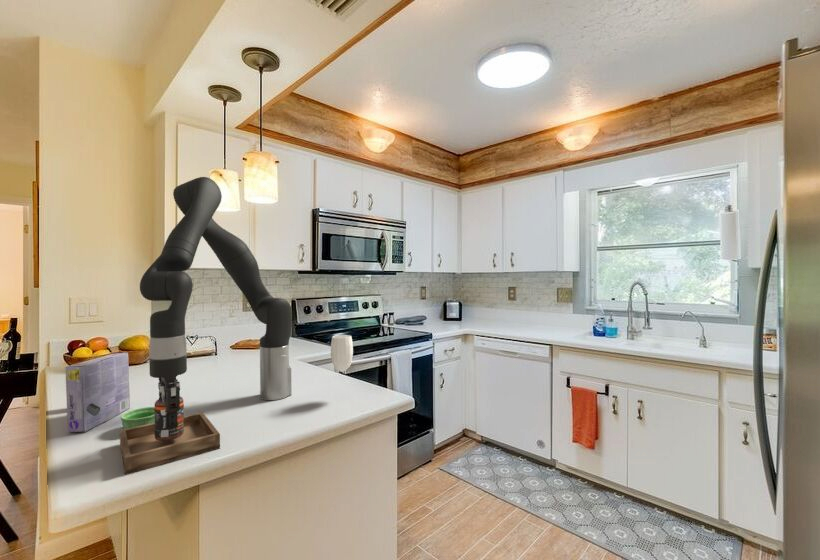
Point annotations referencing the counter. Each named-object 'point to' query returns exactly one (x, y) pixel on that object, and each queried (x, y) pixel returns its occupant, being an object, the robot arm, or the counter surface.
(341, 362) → the cup
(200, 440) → the walnut tray
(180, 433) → the supplement bottle
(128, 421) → the ramekin
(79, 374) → the cake pan box
